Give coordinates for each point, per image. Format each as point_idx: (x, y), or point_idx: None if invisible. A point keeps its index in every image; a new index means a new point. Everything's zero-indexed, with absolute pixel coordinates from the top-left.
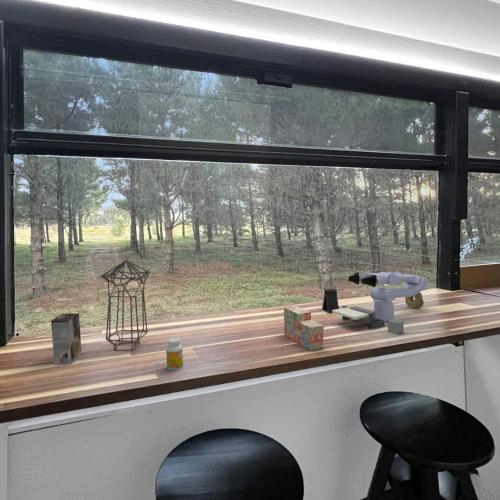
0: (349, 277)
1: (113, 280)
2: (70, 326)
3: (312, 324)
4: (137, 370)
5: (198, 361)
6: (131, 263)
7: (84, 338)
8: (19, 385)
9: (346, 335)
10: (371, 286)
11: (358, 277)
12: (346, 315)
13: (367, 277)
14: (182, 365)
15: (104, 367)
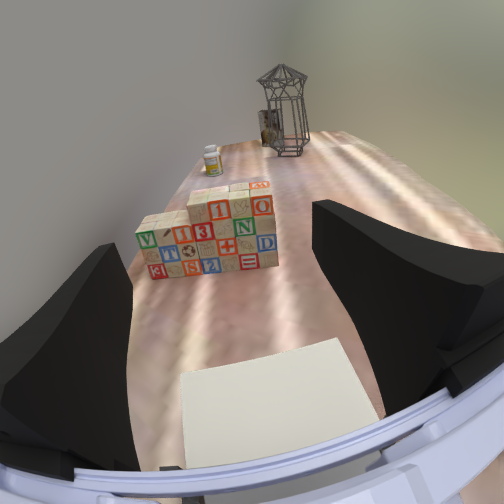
0: (312, 208)
1: (266, 82)
2: (259, 117)
3: (156, 220)
4: (225, 163)
5: (217, 181)
6: (283, 66)
7: (325, 142)
8: (237, 144)
9: (184, 361)
10: (132, 470)
11: (421, 354)
12: (236, 365)
13: (64, 295)
14: (210, 174)
15: (244, 154)
